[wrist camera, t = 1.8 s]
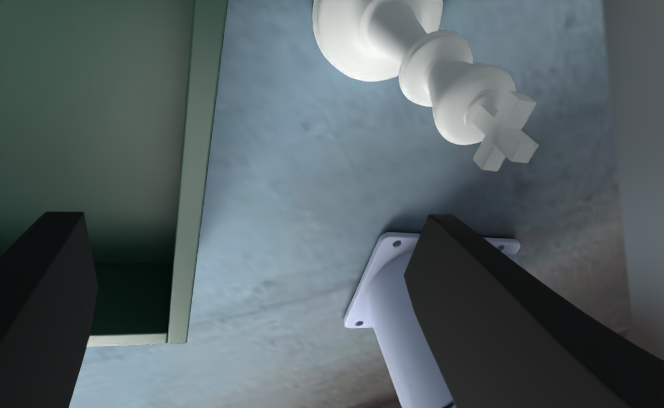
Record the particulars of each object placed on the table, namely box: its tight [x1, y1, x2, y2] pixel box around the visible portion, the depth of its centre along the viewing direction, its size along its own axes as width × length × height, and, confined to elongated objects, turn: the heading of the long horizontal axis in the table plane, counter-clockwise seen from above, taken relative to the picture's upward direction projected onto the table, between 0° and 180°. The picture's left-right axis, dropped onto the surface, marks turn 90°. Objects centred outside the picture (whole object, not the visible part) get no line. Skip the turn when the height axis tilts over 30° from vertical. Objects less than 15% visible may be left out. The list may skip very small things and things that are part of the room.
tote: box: [0, 0, 228, 347], centre depth 14 cm, size 12×16×5 cm
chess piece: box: [312, 0, 539, 172], centre depth 12 cm, size 5×5×10 cm
